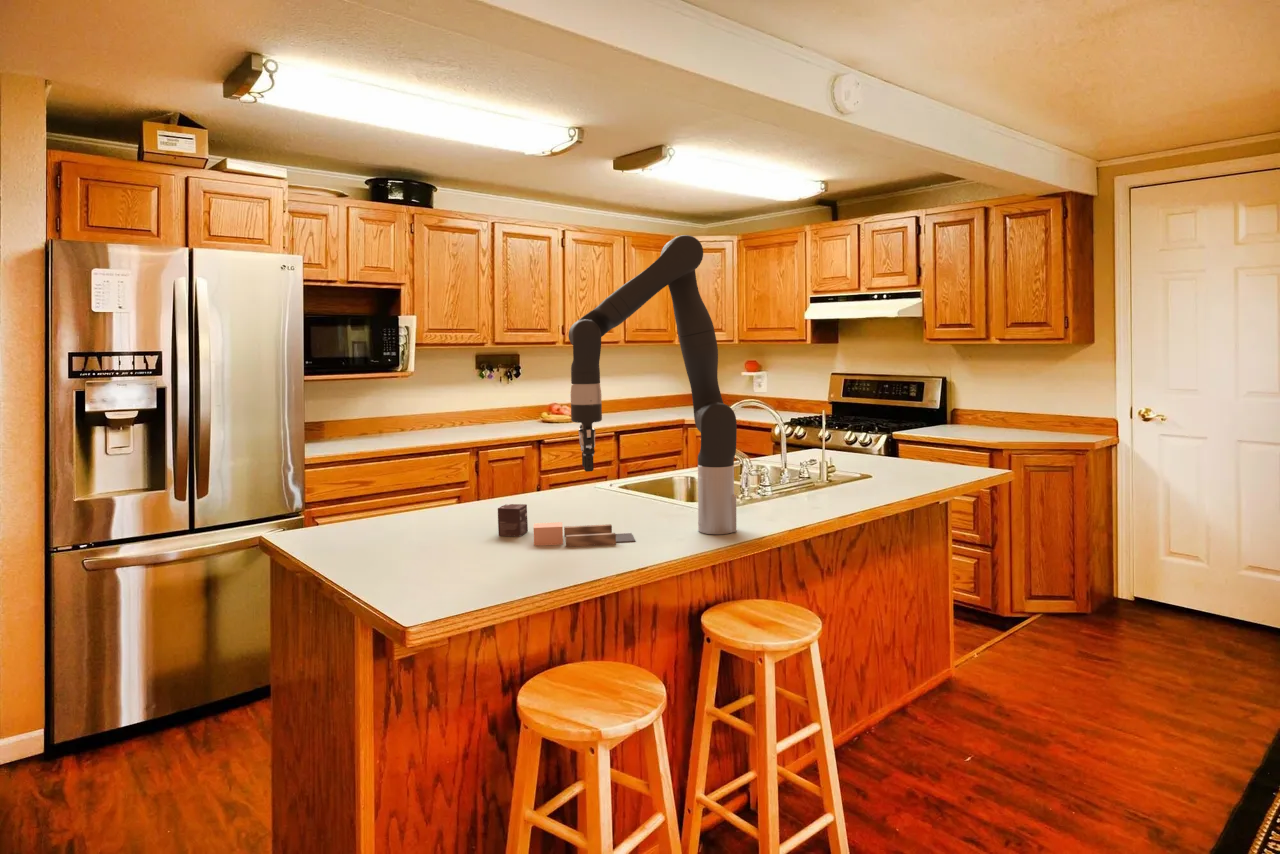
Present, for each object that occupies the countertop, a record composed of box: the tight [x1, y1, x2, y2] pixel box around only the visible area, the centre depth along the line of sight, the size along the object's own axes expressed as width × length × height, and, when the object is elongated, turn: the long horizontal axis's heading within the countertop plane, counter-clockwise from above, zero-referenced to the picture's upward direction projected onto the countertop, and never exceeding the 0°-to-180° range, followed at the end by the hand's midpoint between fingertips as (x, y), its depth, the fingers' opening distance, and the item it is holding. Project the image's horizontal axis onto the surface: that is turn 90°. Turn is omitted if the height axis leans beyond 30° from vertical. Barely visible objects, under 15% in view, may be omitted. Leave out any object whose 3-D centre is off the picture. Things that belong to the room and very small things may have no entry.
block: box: [533, 521, 564, 546], centre depth 187 cm, size 7×5×4 cm
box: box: [497, 503, 529, 537], centre depth 196 cm, size 6×6×7 cm
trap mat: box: [615, 532, 636, 544], centre depth 189 cm, size 5×8×1 cm, turn 8°
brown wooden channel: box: [563, 523, 617, 548], centre depth 188 cm, size 12×11×2 cm
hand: (587, 468), depth 186 cm, fingers open, 7 cm apart
